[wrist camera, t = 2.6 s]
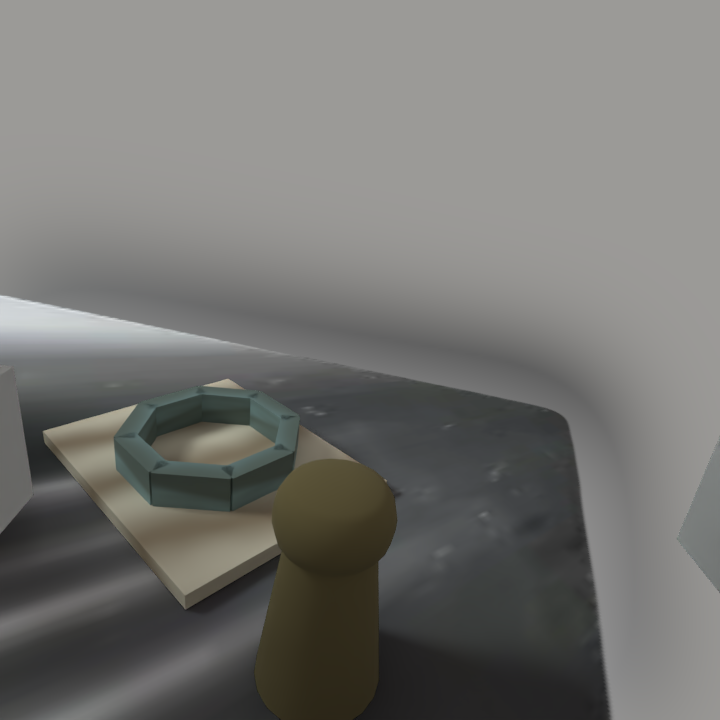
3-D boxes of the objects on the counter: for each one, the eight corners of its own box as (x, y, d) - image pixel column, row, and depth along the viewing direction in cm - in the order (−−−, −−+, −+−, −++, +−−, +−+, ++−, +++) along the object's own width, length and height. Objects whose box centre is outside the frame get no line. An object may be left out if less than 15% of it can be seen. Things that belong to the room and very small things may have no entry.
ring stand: (44, 442, 41) (38, 401, 39) (227, 388, 52) (228, 354, 50) (185, 609, 29) (184, 558, 27) (385, 492, 40) (391, 451, 38)
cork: (280, 754, 23) (297, 548, 18) (238, 638, 27) (243, 453, 23) (402, 697, 25) (442, 508, 21) (345, 601, 30) (367, 430, 26)
